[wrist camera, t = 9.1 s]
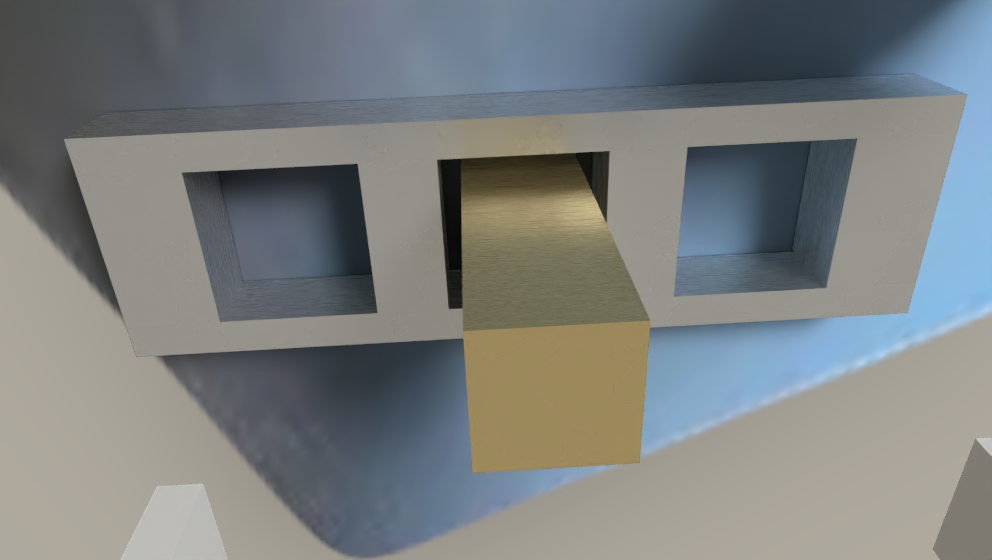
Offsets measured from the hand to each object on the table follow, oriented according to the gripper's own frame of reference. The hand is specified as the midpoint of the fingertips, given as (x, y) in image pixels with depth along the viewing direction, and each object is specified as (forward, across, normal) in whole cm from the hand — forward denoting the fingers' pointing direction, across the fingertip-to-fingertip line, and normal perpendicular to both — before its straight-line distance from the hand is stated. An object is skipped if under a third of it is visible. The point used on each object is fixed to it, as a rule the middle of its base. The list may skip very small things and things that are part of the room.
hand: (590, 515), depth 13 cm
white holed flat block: (+16, 0, -1) cm, 16 cm away
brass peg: (+16, 0, -1) cm, 16 cm away
